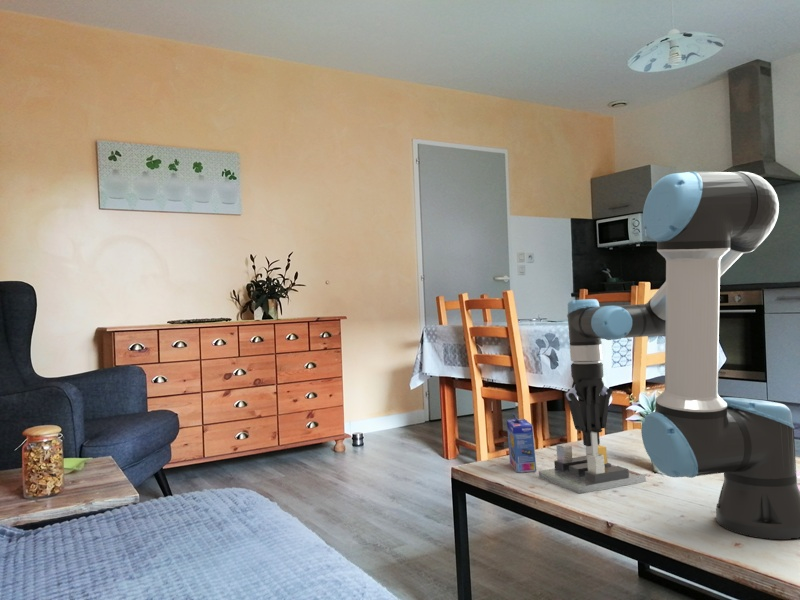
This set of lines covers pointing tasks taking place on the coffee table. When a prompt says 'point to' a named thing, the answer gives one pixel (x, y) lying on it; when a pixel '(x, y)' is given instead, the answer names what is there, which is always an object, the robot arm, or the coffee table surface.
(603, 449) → the block
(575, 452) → the coffee table surface
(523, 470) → the ink cartridge box
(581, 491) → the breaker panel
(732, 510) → the robot arm
